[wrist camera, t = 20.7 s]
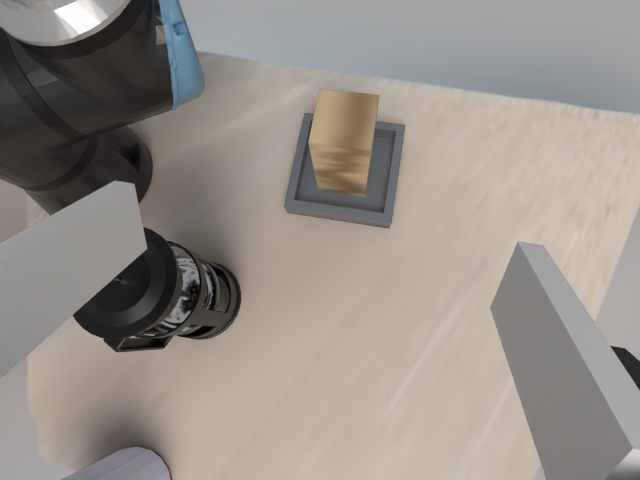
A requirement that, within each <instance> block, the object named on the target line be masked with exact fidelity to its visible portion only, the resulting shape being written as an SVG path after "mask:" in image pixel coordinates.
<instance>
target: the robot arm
mask: <svg viewBox="0 0 640 480" xmlns="http://www.w3.org/2000/svg"><path fill="white" fill-rule="evenodd" d="M204 87H205V79H204V75H203V72H202V68H201V65H200V62H199V59H198V56H197V53H196V50H195V48H194V44H193V41H192V38H191V35H190V32H189V29H188V27H187V24H186V21H185V18H184V15H183V13H182V9H181V6H180V3H179V0H0V179H2V180H4V181H7V182H9V183H11V184H14V185H16V186H18V187H21V188H23V189H24V190H25V191H26V192H27V193H28V194H29V195H30V196H31V197H32V198H33V199H34V200H35V201H36V202H37V203H38V204H39V205H40V206H41V207H42V208H43V209H44V210H45V211H46V212H47V213H48V214H49V215H51V216H49V217H47V218H45V219H43V220H42V221H40V222H38V223H36V224H34V225H32V226H31V227H29V228H27V229H25V230H23V231H21V232H20V233H18V234H16V235H14V236H12V237H10V238H9V239H7V240H5V241H3V242H1V243H0V379H1V378H2V377H3V376H4V375H5V374H6V373H8V372H9V371H10V370H11V369H12V368H13V367H14V366H16V364H18V363H19V362H20V361H21V360H22V359H23V358H24V357H26V356H27V355H28V354H29V353H30V352H31V351H32V350H34V349H35V348H36V347H37V346H38V345H39V344H40V343H41V342H43V341H44V340H45V339H46V338H47V337H48V336H49V335H50V334H52V333H53V332H54V331H55V330H56V329H57V328H58V327H59V326H61V325H62V324H63V323H64V322H65V321H66V320H67V319H68V318H70V317H71V316H72V315H73V314H74V313H75V312H76V311H78V310H79V309H80V308H81V307H82V306H83V305H84V304H85V303H87V302H88V301H89V300H90V299H91V298H92V297H93V296H94V295H96V294H97V293H98V292H99V291H100V290H101V289H102V288H103V287H105V286H106V285H107V284H108V283H109V282H110V281H111V280H112V279H114V278H115V277H116V276H117V275H118V274H119V273H120V272H121V271H123V270H124V269H125V268H126V267H127V266H128V265H129V264H131V263H132V262H133V261H134V260H135V259H136V258H137V257H138V256H140V255H141V254H142V253H143V252H144V251H145V250H146V249H147V244H146V239H145V234H144V229H143V224H142V219H141V214H140V209H139V202H140V201H141V200H142V198H143V197H144V195H145V193H146V191H147V189H148V187H149V184H150V180H151V176H152V160H151V156H150V153H149V150H148V148H147V146H146V145H145V143H144V142H143V141H142V140H141V139H140V138H139V137H138V136H137V135H136V134H135V133H134V132H133V131H132V130H131V129H129V128H128V127H126V125H129V124H132V123H134V122H137V121H140V120H143V119H146V118H149V117H152V116H155V115H158V114H161V113H164V112H167V111H170V110H175V109H176V108H177V107H178V106H180V105H182V104H184V103H186V102H189V101H191V100H193V99H195V98H197V97H199V96H200V95H201V94H202V92H203V90H204ZM490 309H491V312H492V315H493V318H494V321H495V324H496V327H497V330H498V333H499V336H500V339H501V342H502V345H503V349H504V352H505V355H506V358H507V361H508V364H509V367H510V370H511V373H512V376H513V379H514V382H515V385H516V388H517V391H518V394H519V397H520V400H521V403H522V406H523V410H524V413H525V416H526V419H527V422H528V425H529V428H530V431H531V434H532V437H533V440H534V443H535V446H536V449H537V452H538V455H539V458H540V461H541V464H542V467H543V470H544V473H545V477H546V480H640V361H639V360H638V359H636V358H635V357H634V356H633V355H632V354H631V353H630V352H628V351H627V350H626V349H625V348H619V347H613V346H610V345H609V344H608V342H607V341H606V339H605V338H604V336H603V334H602V333H601V331H600V330H599V328H598V327H597V326H596V324H595V322H594V321H593V319H592V318H591V316H590V315H589V313H588V312H587V310H586V309H585V307H584V306H583V304H582V303H581V301H580V300H579V298H578V297H577V295H576V294H575V292H574V291H573V289H572V288H571V286H570V285H569V283H568V282H567V280H566V279H565V277H564V276H563V274H562V273H561V271H560V270H559V268H558V267H557V265H556V264H555V262H554V261H553V259H552V258H551V256H550V255H549V253H548V252H547V250H546V249H545V247H544V246H543V245H537V244H530V243H524V242H517V245H516V247H515V250H514V252H513V254H512V257H511V259H510V262H509V264H508V266H507V269H506V271H505V274H504V276H503V278H502V281H501V283H500V286H499V288H498V290H497V293H496V295H495V297H494V300H493V302H492V305H491V307H490Z"/></svg>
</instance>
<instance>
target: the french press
mask: <svg viewBox="0 0 640 480" xmlns="http://www.w3.org/2000/svg"><path fill="white" fill-rule="evenodd" d="M143 229H144V234H145V239H146V244H147V249H146V250H145V251H144V252H143V253H142V254H141V255H140V256H138V257H137V258H136V259H135V260H134V261H133V262H132V263H131V264H129V265H128V266H127V267H126V268H125V269H124V270H123V271H121V272H120V273H119V274H118V275H117V276H116V277H115V278H114V279H112V280H111V281H110V282H109V283H108V284H107V285H106V286H105V287H103V288H102V289H101V290H100V291H99V292H98V293H97V294H96V295H94V296H93V297H92V298H91V299H90V300H89V301H88V302H87V303H85V304H84V305H83V306H82V307H81V308H80V309H79V310H78V311H76V312H75V313H74V314H73V316H74V318H75V320H76V321H77V322H78V323H79V324H80V326H81V327H82V328H83V329H85V330H86V331H88V332H89V333H91V334H93V335H96V336H98V337H101V338H104V342H105V343H106V344H108V345H109V346H110V347H111V348H112V349H113V350H114V351H116V352H128V351H142V350H155V349H163V348H165V347H166V345H167V344H168V343H169V341H170V340H171V339H172V337H173V336H174V335H177V336H180V337H186V338H191V339H198V340H199V339H208V338H212V337H215V336H217V335H219V334H221V333H222V332H223V331H225V330H226V329H227V328H228V327H229V326H230V325H231V324H232V323H233V321H234V319H235V318H236V316H237V314H238V311H239V309H240V303H241V291H240V287H239V284H238V282H237V279H236V278H235V276H234V275H233V274H232V273H231V272H230V271H229V270H228V269H227V268H225V267H224V266H222V265H220V264H217V263H214V262H211V261H209V260H207V259H205V258H203V257H201V256H199V255H197V254H196V253H194V252H192V251H190V250H188V249H186V248H184V247H182V246H181V245H179V244H176V243H173V242H170V241H166V240H165V239H164V238H163V237H162V236H161V235H159V234H158V233H156V232H154V231H152V230H151V229H148V228H145V227H143ZM171 246H176V247H179V248H181V249H183V250H184V251H185V252H187V253H188V254H189V255H190V256H186V255H185V256H177V257H176V256H175V254H174V251H173V249H172V248H171ZM216 275H218V276H220V277H221V278H222V279H223V280H224V282H225V283H226V285H227V287H228V290H229V303H228V307H227V310H226V312H219V311H215V310H216V308H217V305H218V302H219V282H218V279H217V276H216ZM203 325H204V326H210V327H206V328H200V327H202V326H203ZM144 334H155V336H148V335H144ZM131 336H135V337H139V338H129V337H131Z"/></svg>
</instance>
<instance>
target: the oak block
mask: <svg viewBox="0 0 640 480" xmlns="http://www.w3.org/2000/svg"><path fill="white" fill-rule="evenodd" d="M378 102H379V95H372V94H363V93H353V92H344V91H334V90H325V89H319V93H318V98H317V103H316V108H315V112H314V117H313V122H312V127H311V132H310V137H309V142H308V143H309V148H310V153H311V158H312V163H313V167H314V172H315V177H316V182H317V187H318V190H320V191H327V192H334V193H342V194H349V195H356V196H363V197H365V193H366V187H367V181H368V174H369V168H370V162H371V155H372V148H373V140H374V133H375V125H376V117H377V110H378Z"/></svg>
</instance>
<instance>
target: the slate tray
mask: <svg viewBox="0 0 640 480" xmlns="http://www.w3.org/2000/svg"><path fill="white" fill-rule="evenodd" d="M313 117H314V114H309V113H304V118H303V123H302V127H301V132H300V136H299V141H298V145H297V150H296V155H295V159H294V164H293V168H292V173H291V177H290V182H289V187H288V191H287V196H286V200H285V205H284V207H285V209H286V211H287V213H292V214H299V215H305V216H312V217H318V218H325V219H331V220H338V221H344V222H351V223H358V224H364V225H371V226H377V227H384V228H389V227H390V224H391V221H392V214H393V207H394V200H395V193H396V186H397V179H398V172H399V165H400V158H401V151H402V144H403V137H404V130H405V125H401V124H393V123H384V122H376V125H375V133H374V140H373V148H372V155H371V162H370V168H369V174H368V181H367V187H366V193H365V197H363V196H356V195H349V194H342V193H334V192H327V191H320V190H318V187H317V182H316V177H315V172H314V167H313V163H312V158H311V153H310V148H309V143H308V142H309V137H310V132H311V127H312V122H313Z"/></svg>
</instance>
